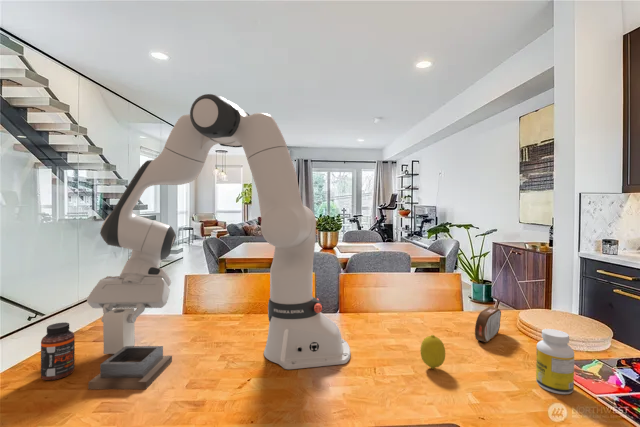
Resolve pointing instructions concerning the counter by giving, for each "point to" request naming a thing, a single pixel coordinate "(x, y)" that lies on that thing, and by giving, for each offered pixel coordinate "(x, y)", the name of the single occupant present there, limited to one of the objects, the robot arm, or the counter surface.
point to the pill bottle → (555, 362)
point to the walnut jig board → (130, 382)
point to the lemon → (432, 351)
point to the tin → (487, 324)
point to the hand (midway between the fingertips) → (117, 322)
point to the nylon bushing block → (117, 330)
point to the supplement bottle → (57, 352)
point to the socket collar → (123, 369)
